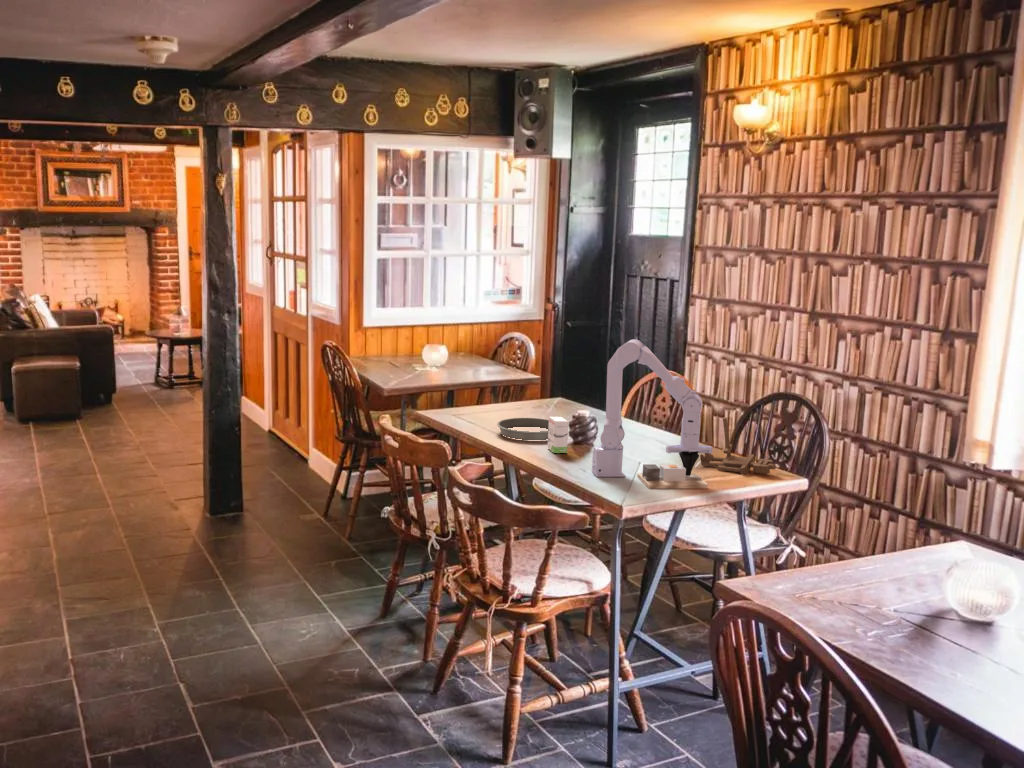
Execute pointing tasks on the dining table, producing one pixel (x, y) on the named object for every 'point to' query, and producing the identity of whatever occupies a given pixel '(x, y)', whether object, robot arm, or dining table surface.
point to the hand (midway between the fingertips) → (687, 474)
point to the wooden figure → (736, 459)
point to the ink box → (557, 434)
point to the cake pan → (524, 423)
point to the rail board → (655, 480)
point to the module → (673, 472)
